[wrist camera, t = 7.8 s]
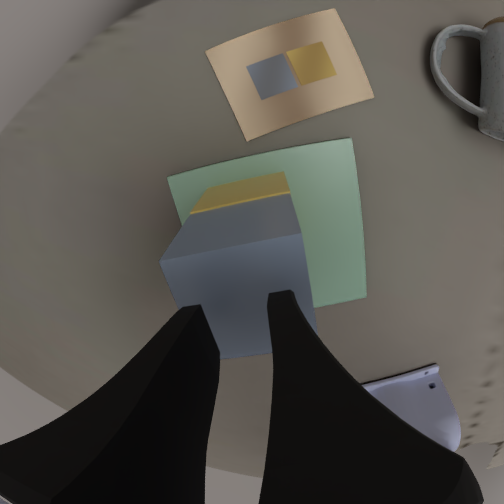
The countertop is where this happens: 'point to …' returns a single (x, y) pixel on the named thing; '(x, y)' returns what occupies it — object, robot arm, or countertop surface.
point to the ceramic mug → (492, 74)
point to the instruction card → (289, 72)
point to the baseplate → (303, 208)
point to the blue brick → (240, 270)
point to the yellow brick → (242, 191)
